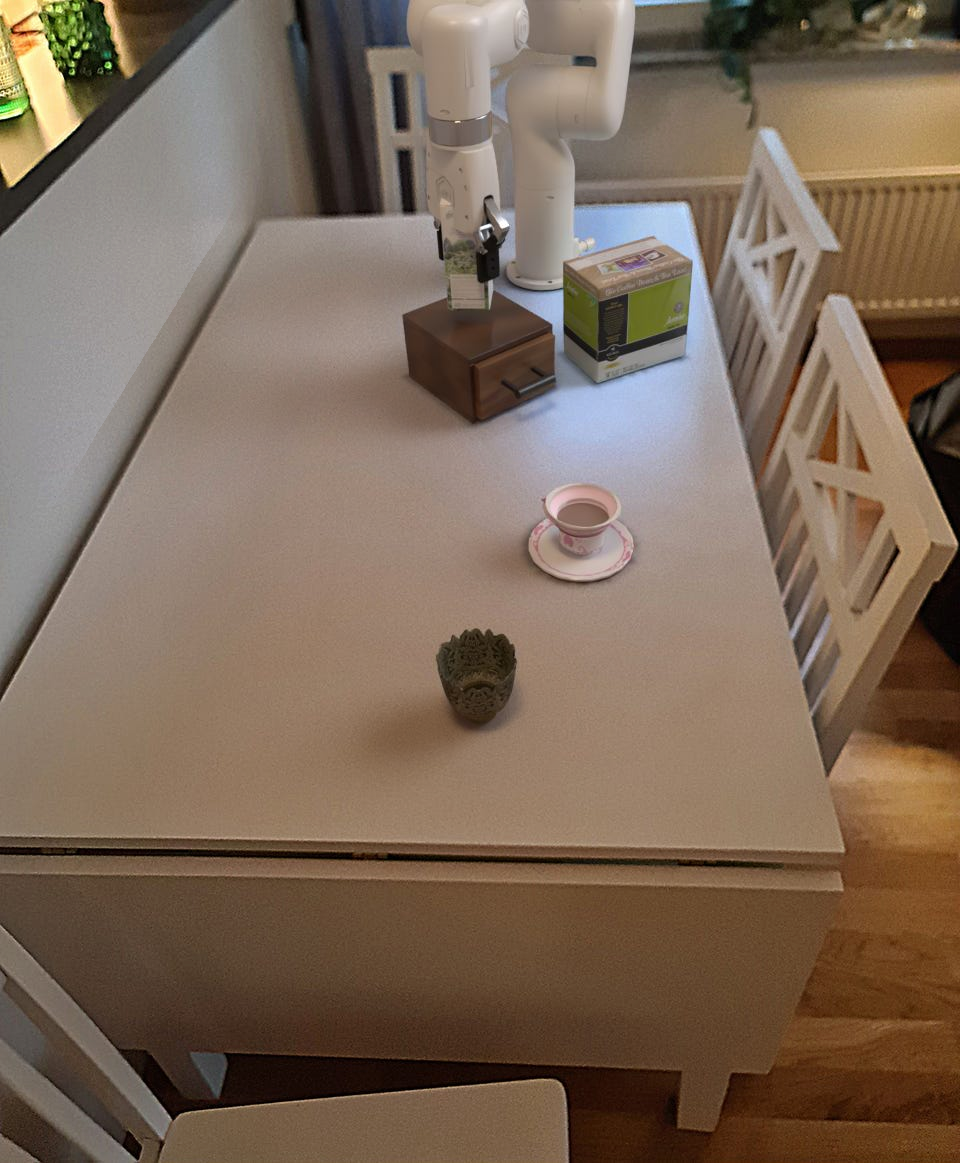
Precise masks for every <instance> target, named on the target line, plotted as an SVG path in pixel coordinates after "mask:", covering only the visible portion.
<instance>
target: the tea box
mask: <svg viewBox="0 0 960 1163" xmlns="http://www.w3.org/2000/svg"><path fill="white" fill-rule="evenodd" d="M693 264H694V262H693V259H691V258H689V257H688V256H685V255H684V254H682V253H681V252H680V251H678V250H676V249H674V248H673V247H672V246H670V245H668V244H667V243H665V242H663V241H662V240H660V239H659V238H657V237H655V235H651V236H647V237H644V238H641V239H637V240H633V241H630V242H626V243H623V244H620V245H615V246H612V247H609V248H605V249H601V250H599V251H595V252H591V253H588V254H584V255H581V256H579V257H577V258H575V259H571V260H566V261H564V262H563V288H562V293H563V294H562V303H563V304H562V307H563V308H562V309H563V310H562V311H563V312H562V313H563V316H562V323H563V324H562V330H563V331H562V332H563V333H562V334H563V337H562V338H563V353H564V354H565V356H566V357H567V358H568V359H569V360H570V361H571V362H572V363H573V364H575V366H577V367H578V368H579V369H580V370H581V371H583V373H585V375H587V376H588V377H589V378H590V379H592V381H594V382H595V383H596V384H599V383H602V382H605V381H608V380H612V379H615V378H619V377H620V376H624V375H627V374H630V373H634V372H636V371H639V370H643V369H646V368H649V367H652V366H655V365H659V364H662V363H665V362H668V361H670V360H674V359H678V358H680V357H684V356H685V355H686V351H687V350H686V348H687V339H688V325H689V316H690V303H691V290H692V277H693V267H694V266H693Z"/></svg>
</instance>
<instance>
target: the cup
mask: <svg viewBox="0 0 960 1163" xmlns="http://www.w3.org/2000/svg"><path fill="white" fill-rule="evenodd" d="M435 661H436V666H437V672H438V676H439V679H440V683H441V686H442V688H443V689H442V690H443V692H444V695H445V697H446V699H447V701H448V703H449V705H450V706H451V707H452V708H453V709H454V710H455V711H456V712H457V713H459V714H461V715H462V716H463V717H465V719H467V720H468V721H469V722H471V723H475V724H485V723H488V722H490V721H492V720H493V719H494V718H495V717H496V716H497V715H498V713H499V712H501V711H502V710H503V709H504V708H505V707H506V705H507V704H508V702H509V701H510V698H511V696H512V694H513V690H514V684H515V677H516V671H517V664H518V659H517V657H516V647H515V645H514V643H510V640H509V638H508V637H507V636H506V635H505V634H504V633H498V634H496V635H494V632H493V631H492V629H491V628H487V629H486V630H485V632H484V633H483V632H482V630H481V629H480V628H477V627H475V628H473V629H471V630H468V629H467V628H465V629H464V631H463V632H462V633H461V634H460V635H459V638H458V637H457V635H455V634H452V635H451V637H450V641H444V642H441V644H440V645H439V649H438V651H437V653H436V654H435Z"/></svg>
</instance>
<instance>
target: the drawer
mask: <svg viewBox="0 0 960 1163" xmlns="http://www.w3.org/2000/svg"><path fill="white" fill-rule="evenodd" d="M473 369H474V385H475V401H476V416H477V417H478V418H479V419H481V420H480V421H483V420H485V419H488V418H490V417H492V416H494V415H496V414H498V413H501V412H502V411H503V412H504V411H505V410H507V409H509V408H512V407H514V406H516V405H518V404H521V403H522V402H524V401H527V400H530V399H531V398H533V397H535V396H538V395H540V394H542V393H544V392H546V391H549V390H552V389H553V388H555V387H556V386H555V385H556V382H557V377H556V335H555V334H551V333H550V332H549V333H547V334H544V335H542V336H540V337H538V336H537V337H535V338H533V339H530V340H528V341H526V342H523V343H521V344H519V345H516V346H514V347H512V348H509V349H507V350H505V351H502V352H500V353H498V354H495V355H493V356H491V357H488V358H486V359H484V360H481V361H479V362H476V363H474V365H473Z"/></svg>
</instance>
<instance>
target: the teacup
mask: <svg viewBox="0 0 960 1163" xmlns="http://www.w3.org/2000/svg"><path fill="white" fill-rule="evenodd" d="M541 502H542V509H543V512H544V515H545V516H546V518H545V519H543V520H542V521H540V522H539V523H538V524H537V525H536V526H535V527H534V528H533V529H532V531H531V533H530V535H529V538H528V554H529V556H530V557H531V559H532V561H533V563H534V564H535V566H537V567H538V568H539V569H541V570H542V571H543V572H544V573H546V574H549V575H550V576H552V577H555V578H557V579H559V580H565V581H569V582H575V583H577V582H594V581H599V580H603V579H606V578H610V577H611V576H614V575H615V574H617V573H619V572H621V571H622V570H623V569H624V568H625V567H627V565H628V563H629V562H630V561H631V559H632V556H633V553H634V550H635V546H634V539H633V535H632V534H631V533H630V531H629V529H628V528H627V527H626V526H625V525H624V524H623V523H621V522H620V521H619V520H618V518H619V516H620V515H621V513H622V502H621V501H620V499H619V498H618V496H617V495H616V494H615V493H614V492H612V491H611V490H609V489H607V488H605V487H603V486H600V485H597V484H593V483H587V482H574V483H567V484H563V485H560V486H558V487H556V488H553V490H551V491H550V492H549V493H548V494H547V496H546V497H545V498H543V497H542V498H541Z"/></svg>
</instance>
